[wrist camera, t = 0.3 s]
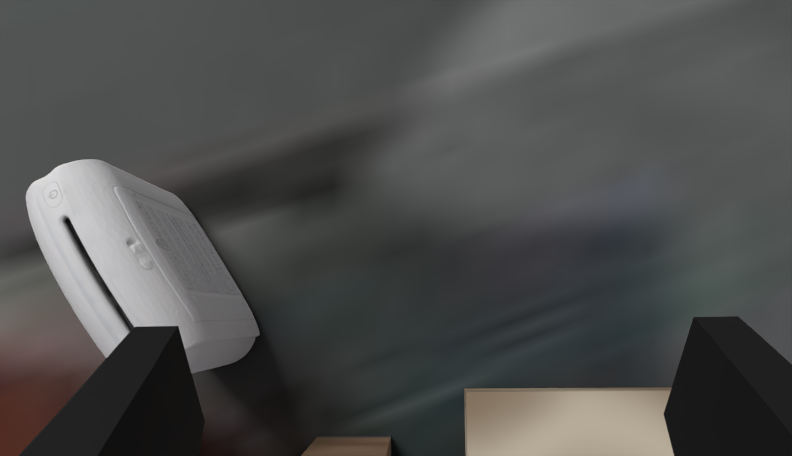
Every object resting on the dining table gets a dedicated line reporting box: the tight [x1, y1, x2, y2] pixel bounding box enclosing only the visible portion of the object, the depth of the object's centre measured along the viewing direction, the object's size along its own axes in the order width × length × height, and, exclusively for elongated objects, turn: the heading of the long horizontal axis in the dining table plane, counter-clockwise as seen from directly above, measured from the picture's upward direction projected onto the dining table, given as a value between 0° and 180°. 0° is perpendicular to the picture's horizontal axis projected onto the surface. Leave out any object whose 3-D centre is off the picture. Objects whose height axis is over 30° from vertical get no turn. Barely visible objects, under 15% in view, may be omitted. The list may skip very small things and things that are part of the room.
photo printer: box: [26, 159, 260, 374], centre depth 33 cm, size 10×4×12 cm, turn 33°
